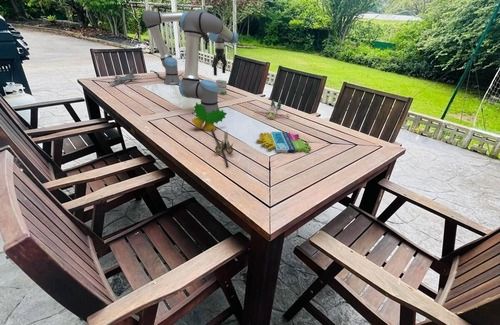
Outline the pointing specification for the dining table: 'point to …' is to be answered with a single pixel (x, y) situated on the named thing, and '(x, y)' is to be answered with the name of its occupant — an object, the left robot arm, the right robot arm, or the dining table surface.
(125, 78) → the airplane
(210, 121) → the ornament
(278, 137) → the colourful gloves pack
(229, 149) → the jawbone
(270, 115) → the toy
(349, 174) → the dining table surface
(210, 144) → the dining table surface
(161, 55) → the left robot arm
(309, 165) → the dining table surface
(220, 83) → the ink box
